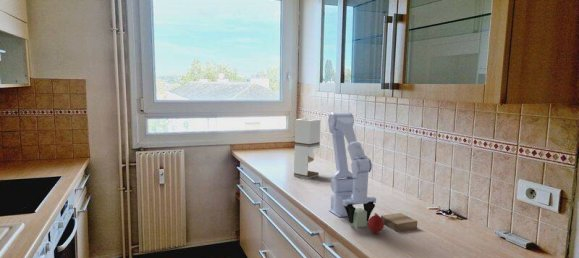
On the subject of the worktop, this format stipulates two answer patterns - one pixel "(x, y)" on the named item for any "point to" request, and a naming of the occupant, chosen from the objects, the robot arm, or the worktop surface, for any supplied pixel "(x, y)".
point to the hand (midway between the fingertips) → (358, 221)
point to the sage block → (360, 218)
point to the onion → (376, 224)
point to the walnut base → (399, 222)
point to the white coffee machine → (305, 146)
